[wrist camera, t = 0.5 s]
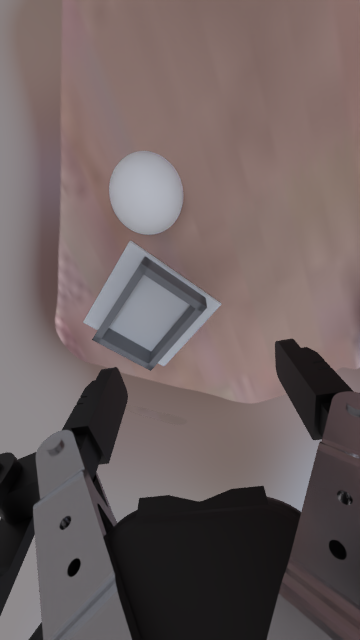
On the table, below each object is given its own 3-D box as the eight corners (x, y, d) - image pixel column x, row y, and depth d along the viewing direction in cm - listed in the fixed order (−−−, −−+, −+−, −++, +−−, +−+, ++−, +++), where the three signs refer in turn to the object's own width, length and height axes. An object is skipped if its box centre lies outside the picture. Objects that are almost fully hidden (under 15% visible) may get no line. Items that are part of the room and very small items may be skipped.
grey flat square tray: (130, 240, 29) (123, 246, 26) (221, 303, 33) (224, 314, 30) (84, 321, 35) (74, 333, 32) (164, 364, 40) (162, 379, 37)
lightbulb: (189, 165, 24) (189, 155, 15) (180, 225, 28) (175, 248, 18) (132, 154, 24) (97, 137, 15) (130, 216, 27) (98, 234, 18)
